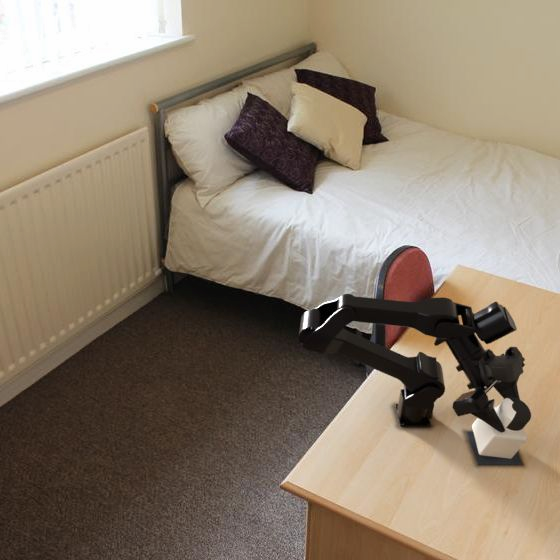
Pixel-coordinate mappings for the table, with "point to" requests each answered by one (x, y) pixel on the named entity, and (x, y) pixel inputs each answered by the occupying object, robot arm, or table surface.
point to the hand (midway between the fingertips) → (511, 422)
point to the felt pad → (489, 459)
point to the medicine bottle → (510, 441)
